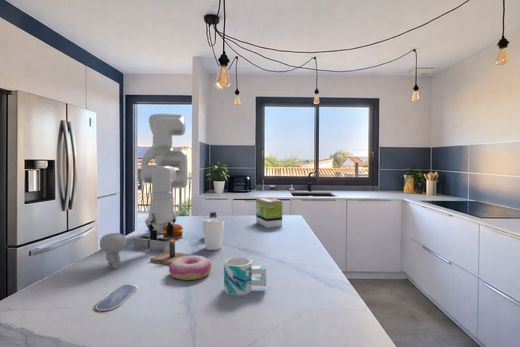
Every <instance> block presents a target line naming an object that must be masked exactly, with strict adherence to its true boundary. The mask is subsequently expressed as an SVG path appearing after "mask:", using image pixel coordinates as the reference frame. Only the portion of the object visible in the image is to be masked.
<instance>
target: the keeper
mask: <svg viewBox="0 0 520 347" xmlns="http://www.w3.org/2000/svg"><path fill="white" fill-rule="evenodd" d="M169 247H170V251H167V252H162V253H161V254H158V255H155V256H152V257H150V259H149V261H150V262H151V263H157V264H163V265H168V266H170V264H171V263H172V262H173V261H174V260H175V259H177V258H180V257H185V256H195V254H190V253H183V252H177V251H176V240H170V241H169Z"/></svg>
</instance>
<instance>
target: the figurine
mask: <svg viewBox="0 0 520 347" xmlns="http://www.w3.org/2000/svg"><path fill="white" fill-rule="evenodd" d="M126 245H127V238H126V237H125V236H124V235H123V234H122V233H119V232H111V233H108V234H107V233H106V234H104V235H103V236H102V237H100V240H99V247H100V250H101V251H103V252H104V253H106V254H105V260H106V261H107V262H108V263H107V265H108V268H110V269H113V270H117V269H118V268H119V264H121V256H120V254H119V252H121V251H123V250H124V249H125V248H126Z"/></svg>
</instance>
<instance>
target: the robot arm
mask: <svg viewBox="0 0 520 347" xmlns="http://www.w3.org/2000/svg"><path fill="white" fill-rule="evenodd" d="M148 124H149V129H150V131H151V134H152V146H150V147H149V148H147V150H146V151H145V153H144V154H143V156H142V158H141V166H140V170H141V171H140V178H141V180H142V182H143V183H145V184H151V200H150V202H149V207H148V208H149V209H148V217H147V218H146V219H145V220H144V222H145V224H146V227H147V229H148V231H149V236H150V240H157V237H158V234H159V235H160V234H162V235H163V227H164V226H166V225H168V226H167V235H171V236H173V226H174V224H176V221H177V217H178V215H177V213H175V207H174V206H175V205H174V204H175V203H174V202H175V198H174V197H175V196H174V195H173V193H172V189H185V188H186V187H187V186H188V180H189V179H188V178H189V176H188V174H189V173H188V155H187V152H186V151H185V150H184V149H181V148H180V149H178V148H175V149H174V148H173V136H177V137H178V136H183V135H185V132H186V121H185V117H184V116H183V115H182V114H173V113H172V114H171V113H153V114H151V115H150V116H149V117H148ZM153 159H154V160H155V165H149V163H150V162H151V161H152V160H153ZM175 168H177V169H175Z"/></svg>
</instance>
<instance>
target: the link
mask: <svg viewBox="0 0 520 347" xmlns="http://www.w3.org/2000/svg"><path fill="white" fill-rule="evenodd" d="M170 240H175V239H169V238H163V236H162V237H161V236H160V237H159V236H158V238H157V240H150V249H149V251H154V252H161V253H165V252H168V251H170V247H169V241H170ZM175 241H176V240H175Z"/></svg>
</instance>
